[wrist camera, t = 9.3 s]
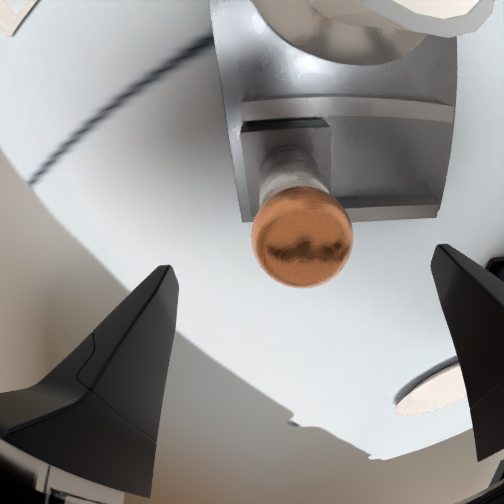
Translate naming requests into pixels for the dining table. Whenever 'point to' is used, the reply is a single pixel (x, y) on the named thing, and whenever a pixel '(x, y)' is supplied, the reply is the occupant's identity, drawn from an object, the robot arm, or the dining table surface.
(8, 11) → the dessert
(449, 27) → the white cup
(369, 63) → the base
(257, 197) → the press lever
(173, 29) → the dining table surface
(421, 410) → the plate
